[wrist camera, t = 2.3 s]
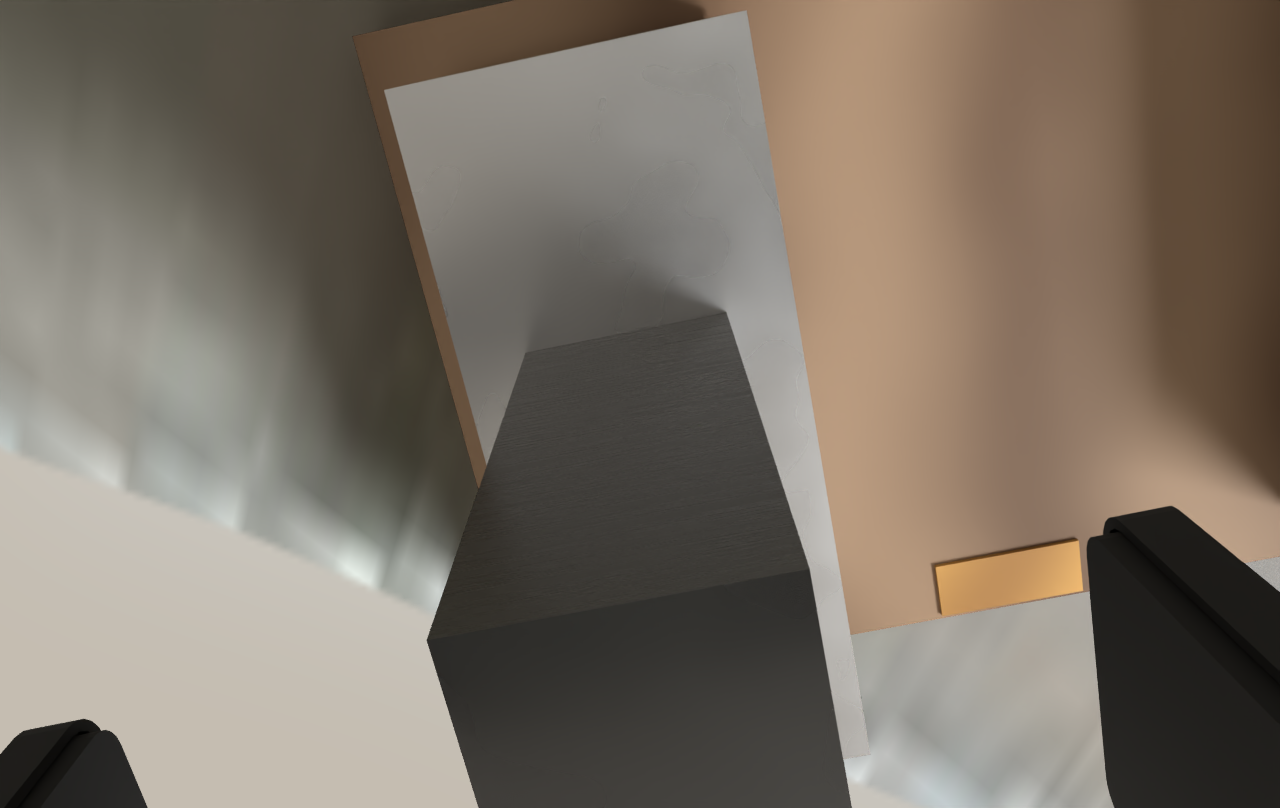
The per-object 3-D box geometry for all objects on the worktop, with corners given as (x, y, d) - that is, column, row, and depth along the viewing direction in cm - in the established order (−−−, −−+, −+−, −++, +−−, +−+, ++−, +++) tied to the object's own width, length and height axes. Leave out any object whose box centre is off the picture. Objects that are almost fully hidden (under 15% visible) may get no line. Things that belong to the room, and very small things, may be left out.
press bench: (1638, -246, 20) (2135, -383, 13) (1584, 450, 24) (1937, 606, 18) (377, 35, 22) (262, 37, 15) (542, 644, 26) (510, 854, 19)
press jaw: (719, 16, 19) (867, -13, 7) (831, 662, 23) (1048, 1357, 11) (444, 75, 20) (120, 151, 7) (605, 703, 24) (572, 1423, 11)
